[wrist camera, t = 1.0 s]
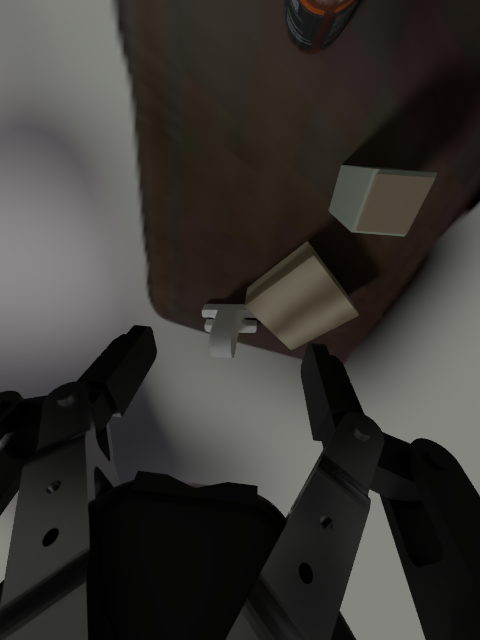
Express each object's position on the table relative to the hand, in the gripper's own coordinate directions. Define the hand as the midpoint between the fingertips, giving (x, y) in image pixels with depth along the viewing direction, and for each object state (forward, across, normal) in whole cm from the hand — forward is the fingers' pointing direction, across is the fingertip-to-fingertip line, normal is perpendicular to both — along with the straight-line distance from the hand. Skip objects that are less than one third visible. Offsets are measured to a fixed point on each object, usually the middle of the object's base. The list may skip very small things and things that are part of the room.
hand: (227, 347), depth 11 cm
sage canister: (+24, -13, -6) cm, 28 cm away
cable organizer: (+26, +2, +15) cm, 30 cm away
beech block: (+25, -9, +9) cm, 28 cm away
